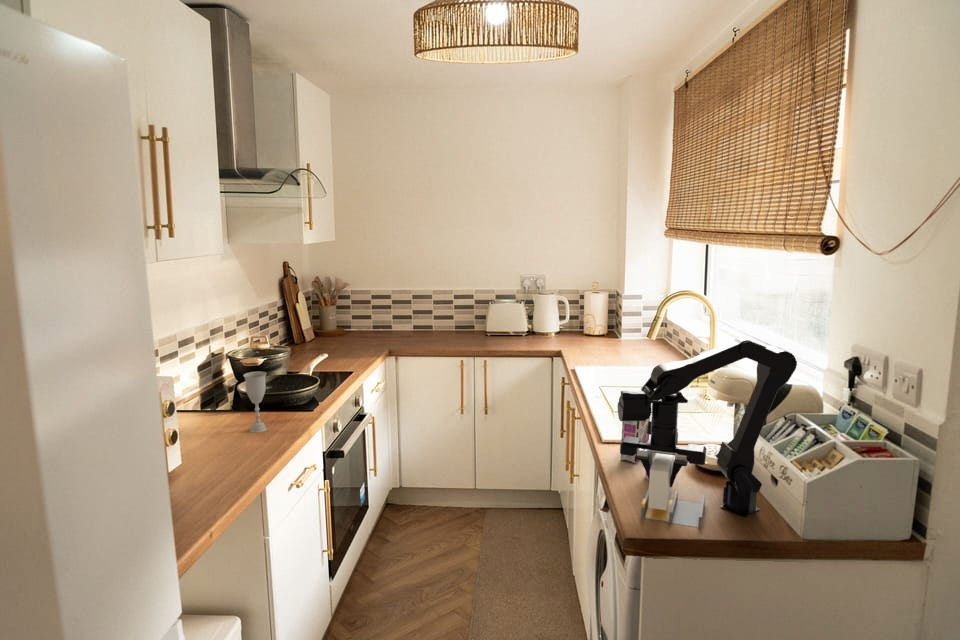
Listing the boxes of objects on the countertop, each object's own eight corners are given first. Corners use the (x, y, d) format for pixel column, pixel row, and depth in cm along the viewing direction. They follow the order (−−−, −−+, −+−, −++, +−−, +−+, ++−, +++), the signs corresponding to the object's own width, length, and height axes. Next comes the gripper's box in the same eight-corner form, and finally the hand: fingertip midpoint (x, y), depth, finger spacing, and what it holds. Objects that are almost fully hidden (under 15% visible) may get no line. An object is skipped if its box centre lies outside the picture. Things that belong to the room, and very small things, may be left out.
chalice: (262, 434, 210) (259, 377, 207) (242, 433, 211) (238, 376, 208) (273, 426, 217) (270, 371, 214) (253, 425, 218) (250, 371, 215)
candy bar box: (637, 464, 186) (639, 406, 184) (619, 461, 189) (622, 403, 186) (649, 451, 196) (652, 396, 193) (632, 448, 198) (635, 394, 196)
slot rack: (704, 505, 161) (705, 491, 161) (700, 529, 150) (701, 513, 149) (648, 496, 166) (648, 483, 165) (640, 519, 154) (641, 504, 154)
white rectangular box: (672, 489, 163) (674, 453, 162) (666, 510, 152) (668, 472, 151) (655, 487, 165) (656, 451, 163) (648, 507, 154) (649, 469, 152)
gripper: (709, 414, 159) (705, 478, 162) (628, 406, 166) (626, 467, 169) (706, 429, 149) (702, 496, 152) (620, 419, 156) (618, 484, 158)
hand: (661, 485), depth 158 cm, fingers closed on white rectangular box, 4 cm apart
